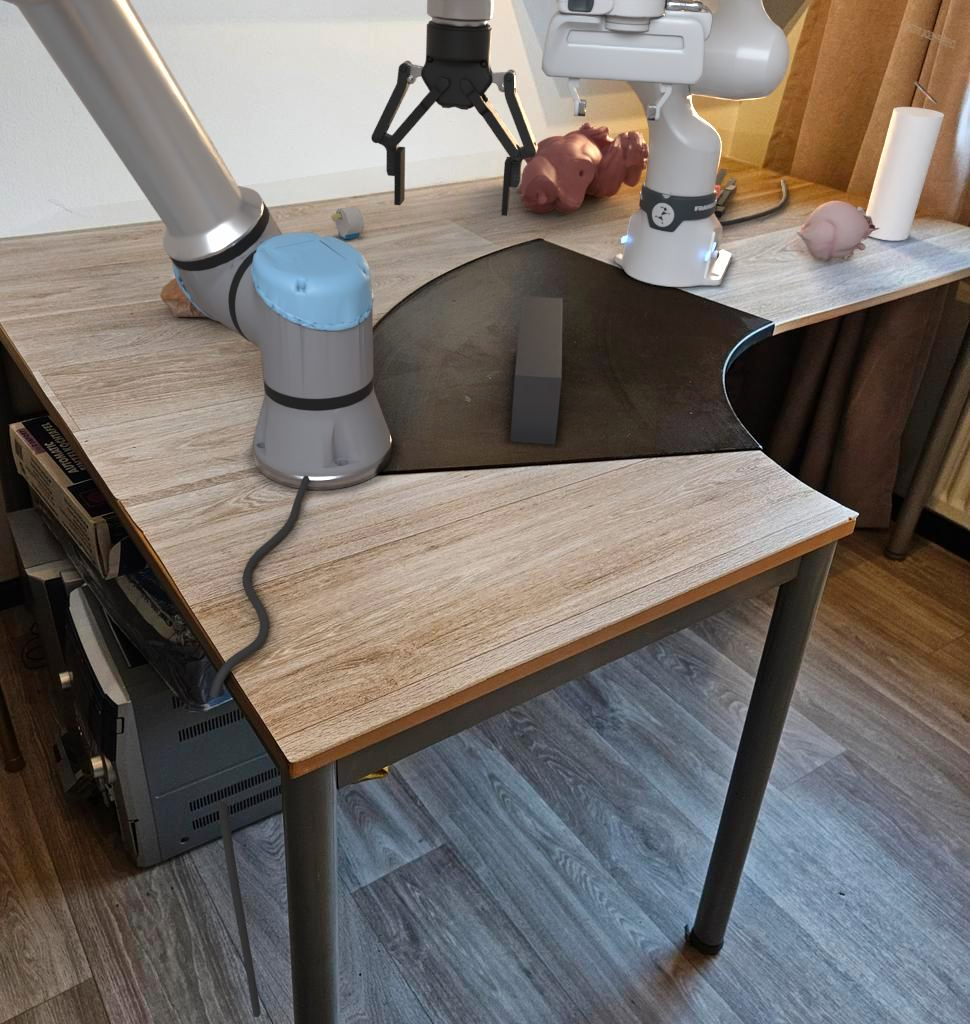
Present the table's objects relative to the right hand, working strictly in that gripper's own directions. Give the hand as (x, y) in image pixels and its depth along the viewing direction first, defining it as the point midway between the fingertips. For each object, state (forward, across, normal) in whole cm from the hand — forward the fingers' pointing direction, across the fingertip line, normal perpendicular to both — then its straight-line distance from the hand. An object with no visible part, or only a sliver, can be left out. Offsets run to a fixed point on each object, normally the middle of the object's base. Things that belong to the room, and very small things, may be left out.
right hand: (615, 117), depth 124 cm
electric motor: (+29, +43, -33) cm, 61 cm away
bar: (+29, +8, +23) cm, 38 cm away
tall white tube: (+29, -57, -56) cm, 85 cm away
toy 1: (+29, -26, -67) cm, 78 cm away
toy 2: (+29, -43, -40) cm, 66 cm away
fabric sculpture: (+29, +2, -62) cm, 68 cm away
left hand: (+10, +20, +11) cm, 25 cm away
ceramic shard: (+29, +55, +1) cm, 62 cm away
